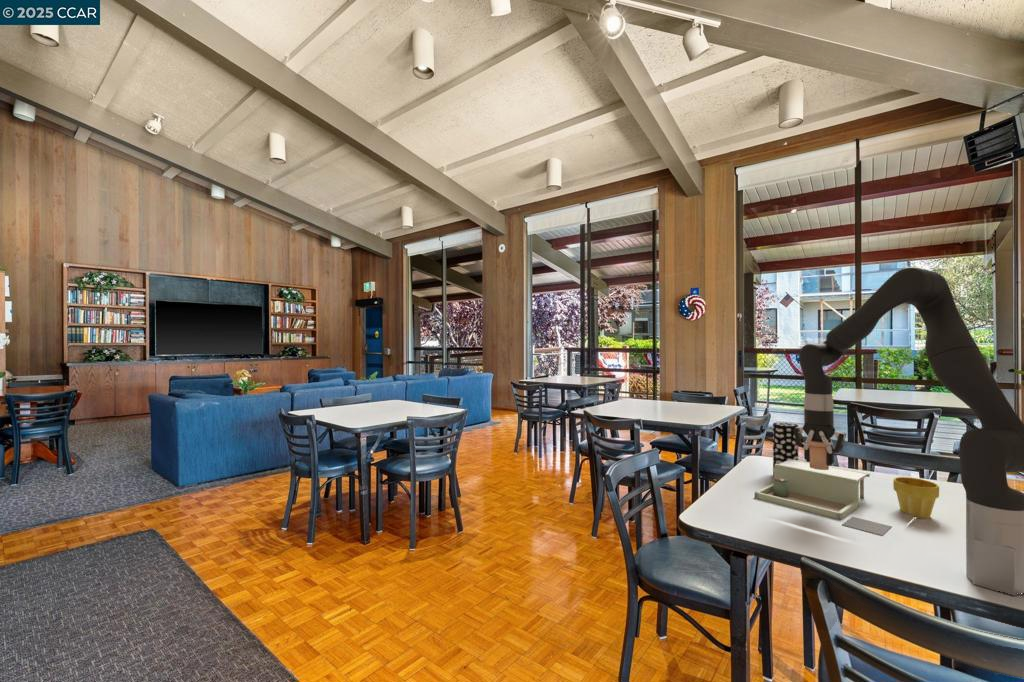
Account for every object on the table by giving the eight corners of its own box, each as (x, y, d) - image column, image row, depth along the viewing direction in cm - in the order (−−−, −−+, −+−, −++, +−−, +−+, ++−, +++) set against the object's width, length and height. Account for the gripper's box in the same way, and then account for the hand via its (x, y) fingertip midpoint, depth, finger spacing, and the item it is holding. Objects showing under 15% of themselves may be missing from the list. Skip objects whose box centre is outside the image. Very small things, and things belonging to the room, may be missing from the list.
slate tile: (882, 538, 121) (882, 535, 121) (841, 528, 128) (841, 524, 128) (891, 529, 126) (891, 526, 126) (852, 519, 134) (852, 516, 134)
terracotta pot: (826, 471, 138) (826, 438, 138) (805, 467, 142) (804, 436, 142) (833, 468, 141) (833, 436, 141) (812, 464, 146) (811, 433, 146)
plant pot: (948, 522, 131) (948, 488, 131) (907, 520, 133) (906, 486, 133) (924, 509, 141) (924, 477, 141) (885, 507, 144) (885, 475, 143)
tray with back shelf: (841, 522, 132) (840, 490, 132) (754, 499, 151) (754, 472, 151) (869, 500, 149) (869, 473, 149) (789, 483, 168) (788, 458, 168)
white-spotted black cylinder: (794, 474, 178) (794, 422, 178) (801, 480, 170) (801, 426, 170) (770, 472, 181) (770, 422, 181) (776, 479, 173) (776, 425, 173)
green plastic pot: (785, 498, 150) (785, 482, 150) (771, 494, 153) (771, 479, 153) (790, 494, 153) (790, 479, 153) (776, 491, 156) (775, 476, 156)
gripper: (788, 406, 145) (788, 460, 145) (842, 411, 134) (842, 470, 134) (797, 404, 150) (798, 457, 150) (850, 409, 139) (851, 466, 138)
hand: (819, 463), depth 142 cm, fingers closed on terracotta pot, 5 cm apart
